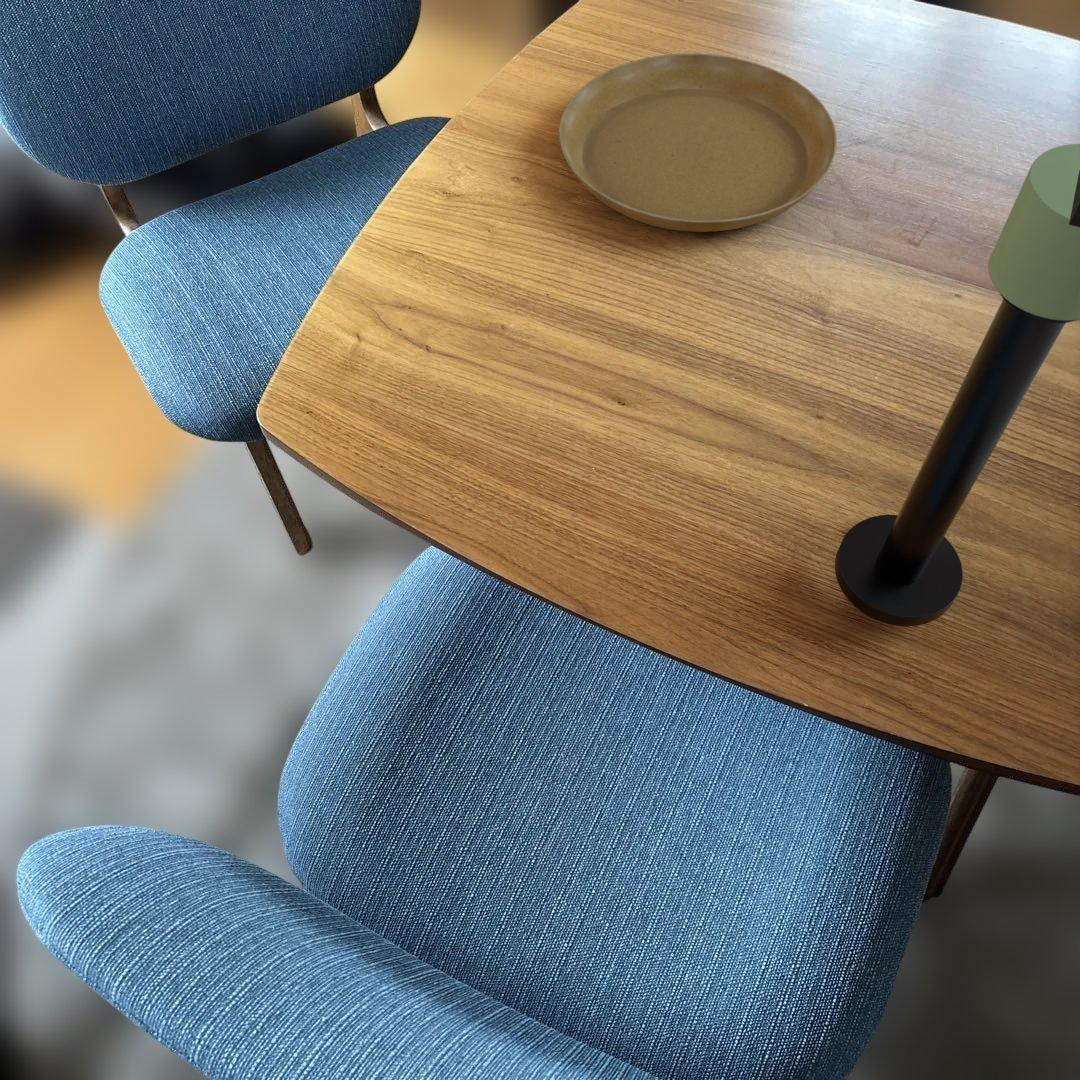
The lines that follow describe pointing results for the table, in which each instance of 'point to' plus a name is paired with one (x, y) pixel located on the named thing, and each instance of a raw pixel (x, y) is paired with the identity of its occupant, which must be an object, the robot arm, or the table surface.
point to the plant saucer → (697, 141)
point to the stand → (944, 482)
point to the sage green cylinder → (1042, 240)
